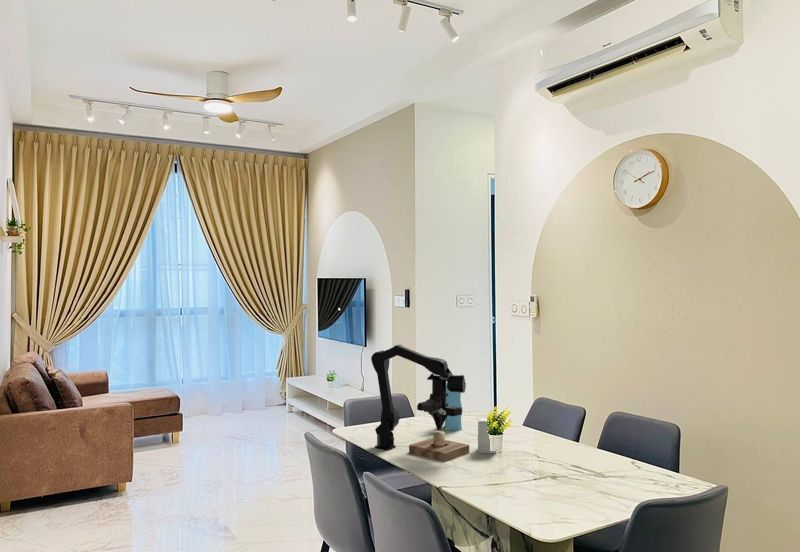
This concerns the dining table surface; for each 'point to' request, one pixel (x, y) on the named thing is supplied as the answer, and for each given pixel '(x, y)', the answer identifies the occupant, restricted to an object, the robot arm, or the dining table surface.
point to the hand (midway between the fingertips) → (439, 430)
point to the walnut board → (439, 449)
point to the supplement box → (483, 437)
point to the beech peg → (439, 439)
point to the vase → (451, 400)
